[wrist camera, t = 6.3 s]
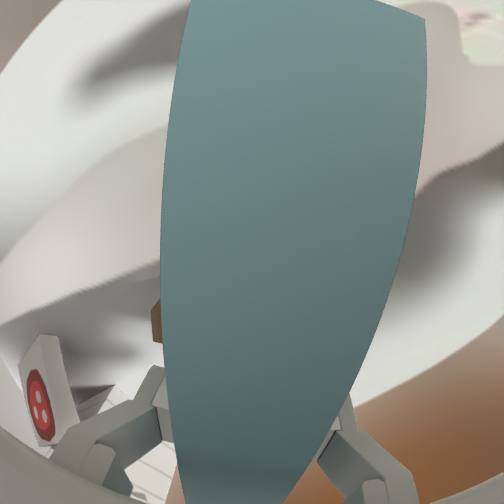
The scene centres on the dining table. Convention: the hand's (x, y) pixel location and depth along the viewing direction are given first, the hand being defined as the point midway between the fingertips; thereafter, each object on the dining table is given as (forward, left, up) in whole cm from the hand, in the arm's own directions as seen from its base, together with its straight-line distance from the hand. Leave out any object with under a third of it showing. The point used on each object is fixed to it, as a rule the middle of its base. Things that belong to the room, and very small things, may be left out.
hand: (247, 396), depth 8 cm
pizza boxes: (+23, +33, -20) cm, 44 cm away
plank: (0, +1, -5) cm, 5 cm away
